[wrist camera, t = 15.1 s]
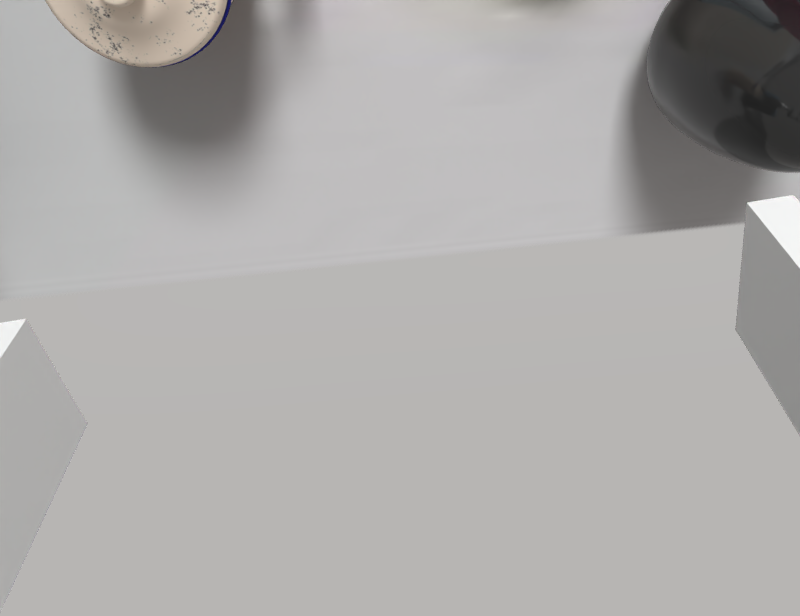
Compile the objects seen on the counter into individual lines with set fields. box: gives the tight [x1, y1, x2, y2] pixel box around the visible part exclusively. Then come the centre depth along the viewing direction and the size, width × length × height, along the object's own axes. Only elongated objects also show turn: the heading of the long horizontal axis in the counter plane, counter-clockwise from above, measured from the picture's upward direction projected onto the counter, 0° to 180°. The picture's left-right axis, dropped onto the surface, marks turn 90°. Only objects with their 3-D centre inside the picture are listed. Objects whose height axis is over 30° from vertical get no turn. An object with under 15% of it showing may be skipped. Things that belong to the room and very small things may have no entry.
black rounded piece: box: [647, 0, 800, 173], centre depth 39 cm, size 10×10×15 cm
